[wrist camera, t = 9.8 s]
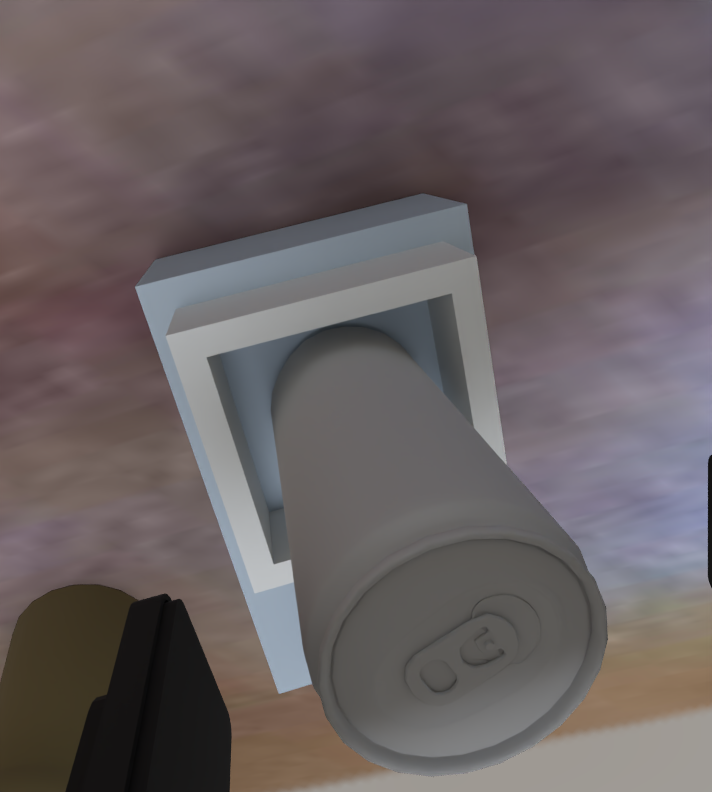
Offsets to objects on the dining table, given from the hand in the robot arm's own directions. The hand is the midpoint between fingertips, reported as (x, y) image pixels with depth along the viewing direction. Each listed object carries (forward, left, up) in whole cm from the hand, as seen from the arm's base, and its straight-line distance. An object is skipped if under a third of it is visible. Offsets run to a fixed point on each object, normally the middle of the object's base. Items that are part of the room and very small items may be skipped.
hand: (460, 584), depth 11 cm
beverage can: (0, 0, -11) cm, 11 cm away
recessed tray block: (+5, -1, -15) cm, 16 cm away
